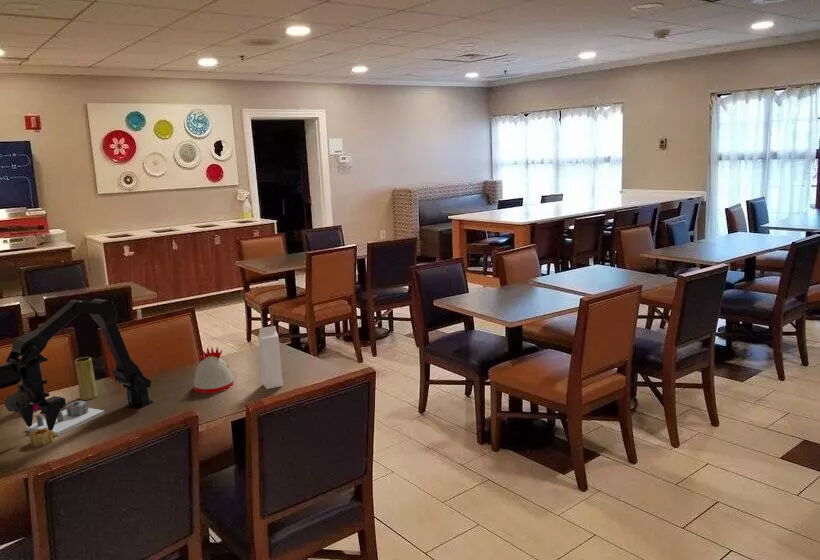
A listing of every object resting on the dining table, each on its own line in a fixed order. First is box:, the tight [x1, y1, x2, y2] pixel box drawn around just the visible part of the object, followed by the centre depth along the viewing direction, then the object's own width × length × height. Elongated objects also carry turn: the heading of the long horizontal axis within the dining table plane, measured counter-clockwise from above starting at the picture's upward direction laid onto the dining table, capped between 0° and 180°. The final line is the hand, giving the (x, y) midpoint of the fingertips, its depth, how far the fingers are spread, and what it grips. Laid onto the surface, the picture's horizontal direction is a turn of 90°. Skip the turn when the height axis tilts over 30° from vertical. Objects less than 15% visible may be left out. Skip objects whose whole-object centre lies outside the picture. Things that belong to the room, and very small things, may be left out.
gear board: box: [25, 400, 106, 437], centre depth 209 cm, size 14×18×5 cm
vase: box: [74, 356, 99, 401], centre depth 230 cm, size 6×6×14 cm
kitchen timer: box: [193, 346, 234, 394], centre depth 235 cm, size 14×14×15 cm
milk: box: [257, 325, 284, 390], centre depth 232 cm, size 6×6×22 cm
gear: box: [28, 428, 55, 448], centre depth 195 cm, size 6×6×3 cm
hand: (40, 428), depth 194 cm, fingers open, 9 cm apart
